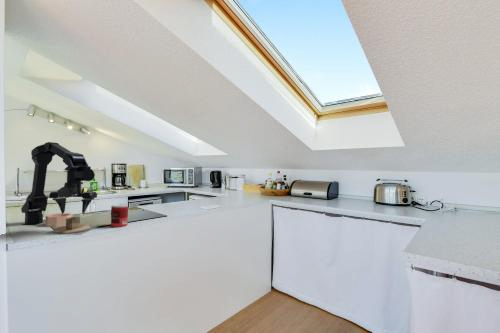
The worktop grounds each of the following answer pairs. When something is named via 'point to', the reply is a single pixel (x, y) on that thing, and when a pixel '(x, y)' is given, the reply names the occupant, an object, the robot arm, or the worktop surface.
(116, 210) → the canned food
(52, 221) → the bowl
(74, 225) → the lid
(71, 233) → the mat
